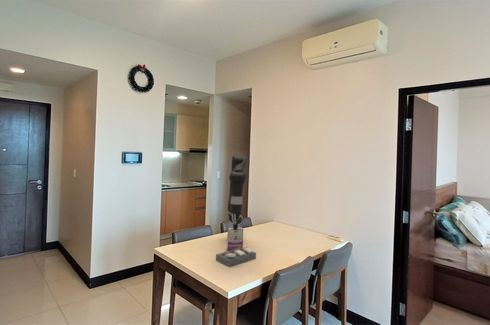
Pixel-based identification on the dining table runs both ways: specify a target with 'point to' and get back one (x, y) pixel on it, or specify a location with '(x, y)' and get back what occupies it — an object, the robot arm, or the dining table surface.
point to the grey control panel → (236, 259)
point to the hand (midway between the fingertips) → (235, 229)
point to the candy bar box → (235, 239)
